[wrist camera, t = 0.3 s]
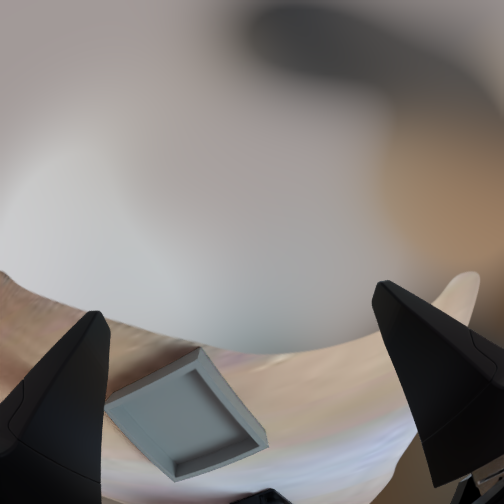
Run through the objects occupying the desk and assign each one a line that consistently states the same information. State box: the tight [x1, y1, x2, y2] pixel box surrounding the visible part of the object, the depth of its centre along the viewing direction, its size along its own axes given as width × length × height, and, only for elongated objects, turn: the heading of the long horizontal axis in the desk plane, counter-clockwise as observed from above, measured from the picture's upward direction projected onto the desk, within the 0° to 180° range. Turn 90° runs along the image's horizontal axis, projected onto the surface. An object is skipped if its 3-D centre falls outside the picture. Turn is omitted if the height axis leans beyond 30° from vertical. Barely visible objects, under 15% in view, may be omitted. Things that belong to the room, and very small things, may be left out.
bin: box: [104, 347, 269, 482], centre depth 21 cm, size 11×11×3 cm
